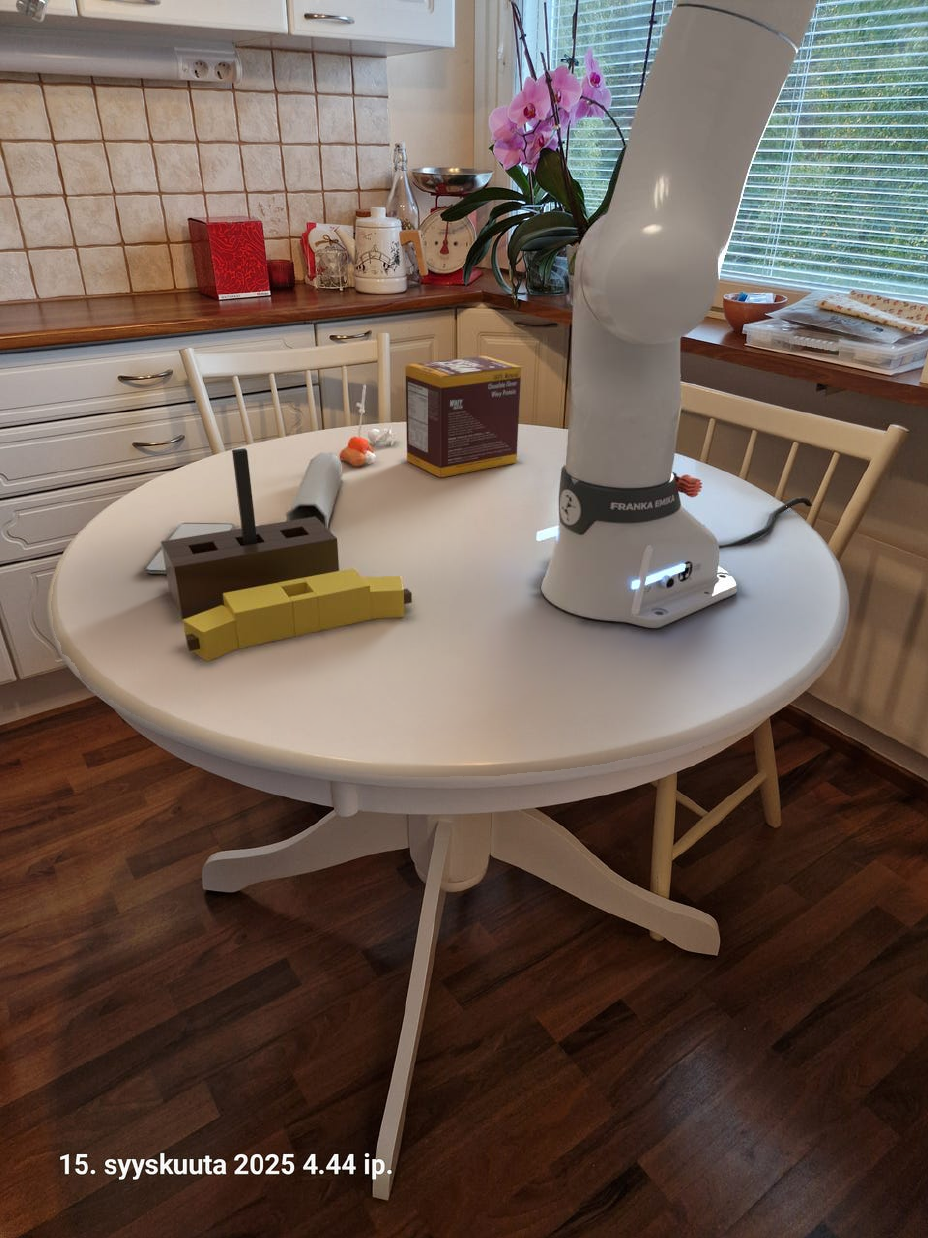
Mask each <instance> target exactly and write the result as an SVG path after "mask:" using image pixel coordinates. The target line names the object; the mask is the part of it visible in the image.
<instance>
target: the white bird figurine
mask: <svg viewBox="0 0 928 1238" xmlns="http://www.w3.org/2000/svg"><path fill="white" fill-rule="evenodd" d="M394 424H395V422H393V423H392V424H391V425H390V426H389V427H388V428H387V427H385V428H380V430H379V429H377V428H373V429H370V430H368V432H367V438H368V441H371V442H372V443H375V444H376V445H377V444H378V443H380V442H381V443H383V442H386V441H387V440H389V438H390V437H391V442H390V446H391V447H392V446H393V444H394V439H395V437H396V435H397V432H395V433H393V431H392V428H393V426H394Z"/></svg>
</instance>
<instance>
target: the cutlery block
mask: <svg viewBox="0 0 928 1238" xmlns="http://www.w3.org/2000/svg"><path fill="white" fill-rule="evenodd" d="M255 526H256V535H257V544H251V545H245V546H243V538H242V530H241V528H234V529H233V530H229V531H223V532H216V533H210V534H204V535H198V536H191V537H185V538H179V539H173V540H169V539H167V540H162V541H160V544H161V548H162V551H163V556H164V562H165V568H166V574H165V575H166V578H167V579H166V581H167V585H168V589H169V593H170V595H171V597H172V600H173V601H174V603H175V606H176V609H177V610H178V612H179V614H180V617H181V619H182V620H184V619H186V618H189V617H192V616H194V615H197V614H200V613H202V612H205V611H207V610H210V609H213V608H215V607H218V606H221V605H223V606H224V600H223V593H227V592H232V591H237V590H242V589H248V588H253V587H258V586H263V585H268V584H274V583H278V582H283V581H288V580H294V579H299V578H305V577H310V576H315V575H320V574H326V573H331V572H336V571H340V563H339V562H340V561H339V546H338V538H337V537H336V536H335V534H333V533H332V532H331V530H330V529H329V528H328V529H327V528H326V527H325V526H324V525H323V524H322V523H321V522H320V521H319V520H318V519H317V518H316V517H309V518H303V519H297V520H291V521H287V520H286V521H281V522H280V521H279V522H273V523H266V524H260V525H255Z"/></svg>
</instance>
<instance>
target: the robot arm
mask: <svg viewBox="0 0 928 1238" xmlns="http://www.w3.org/2000/svg"><path fill="white" fill-rule="evenodd" d="M50 1H51V0H16V3H15V6H16V10H17V11H18V12H19V13H20V14H22V15H23V16H25V17H27V18H29V19H31V20H34V21H36V22H38V23H41V22H42V23H43V21H44V20H45V17H46V13H47V12H46V11H47V9H48V4H49V3H50ZM817 4H818V0H674V2H673V4H672V8H671V10H670V13H669V16H668V18H667V22H666V24H665V27H664V30H663V33H662V35H661V37H660V41H659V44H658V47H657V49H656V52H655V55H654V57H653V61H652V63H651V66H650V69H649V72H648V75H647V77H646V81H645V83H644V86H643V89H642V92H641V94H640V97H639V100H638V103H637V106H636V108H635V111H634V114H633V118H632V123H631V127H630V132H629V134H628V135H629V136H628V140H627V144H626V147H625V151H624V153H623V158H622V161H621V167H620V169H619V172H618V176H617V180H616V182H615V187H614V190H613V193H612V196H611V200H610V203H609V205H608V206H609V207H608V209H607V212H606V213H605V214H603V215H602V216H600V217H599V218H598V219H597V220H595V222H594V223H592V225H590V227H589V228H588V230H587V231H586V232H585V234H584V235H583V237H582V239H581V241H580V243H579V246H578V249H577V251H576V254H575V261H574V272H573V273H574V274H573V276H574V277H573V295H572V296H573V297H572V322H571V323H572V324H571V368H570V369H571V371H570V372H571V373H570V378H571V379H570V403H569V413H568V414H569V416H568V428H567V439H566V440H567V442H566V454H565V464H564V465H563V466H562V467H561V470H560V471H561V472H560V477H559V478H560V479H559V488H558V489H559V490H558V525H555V526H553V527H549V528H545V529H543V530H539V531H537V532H536V541H538V542H540V541H543V540H547V539H549V538H552V537H555V540H554V546H553V550H552V553H551V557H550V560H549V564H548V567H547V569H546V572H545V574H544V578H543V579H542V582H541V586H540V587H541V592H542V594H543V596H544V597H545V598H546V599H547V601H548V602H550V603H551V604H552V605H553V606H556V607H557V608H559V609H561V610H562V611H565V612H568V613H570V614H573V615H576V616H580V617H583V618H588V619H592V620H598V621H608V622H621V623H627V624H631V625H636V626H640V627H643V628H648V629H659V628H662V627H664V626H667V625H670V624H671V623H673V622H675V621H678V620H680V619H682V618H684V617H686V616H689V615H692V614H694V613H695V612H698V611H700V610H702V609H704V608H707V607H709V606H711V605H713V604H715V603H718V602H720V601H723V600H724V599H726V598H729V597H731V596H733V595H736V594H737V591H738V584H737V582H736V580H735V578H734V577H733V576H732V575H731V574H730V573H729V572H728V571H726V570H725V569H724V568H722V567H721V566H720V549H723V548H729V547H738V546H742V545H745V544H749V543H751V542H753V541H755V540H756V539H759V538H761V537H763V536H765V535H766V534H767V533H769V532H770V531H771V530H772V528H773V526H774V523H775V520H776V519H777V517H778V516H779V515H781V514H782V513H784V512H786V511H787V510H788V509H790V508H792V507H793V506H795V505H798V504H804V505H805V507H812V506H813V503H812V501H811V500H810V499H809V498H807V497H803V496H800V497H795V498H793V499H790V500H789V501H787V502H786V503H784V504H783V505H781V506H780V507H778V508H777V509H775V510H773V511H772V512H771V513H770V515H769V516H768V519H767V522H766V525H764V527H763V528H761V529H760V530H758V531H755V532H753V533H752V534H749V535H747V536H745V537H743V538H740V539H738V540H735V541H733V542H729V543H725V544H719V542H718V539H717V537H716V535H715V534H714V532H712V531H711V530H710V529H709V528H708V527H707V526H706V524H703V523H702V522H701V521H700V520H698V519H697V518H696V517H695V516H694V515H693V514H691V513H690V512H689V511H688V510H687V509H686V508H685V507H684V506H683V505H682V501H681V497H680V494H684V495H686V496H688V497H690V498H696V497H697V496H698V495H699V493H700V492H701V491H702V488H703V482H701V479H699V478H696V477H692V476H691V475H689V474H683V475H682V476H678V474H677V473H676V472H675V471H673V468H674V460H675V454H676V446H677V439H678V433H679V427H680V426H679V425H680V419H681V410H682V404H683V392H682V383H681V381H682V379H681V338H683V337H685V336H687V335H688V334H690V333H691V332H692V331H694V330H695V329H696V328H697V327H698V326H699V325H700V324H701V323H702V322H703V321H704V319H706V318H707V315H708V314H709V313H710V311H711V310H712V307H713V305H714V304H715V300H716V298H717V295H718V291H719V286H720V274H721V268H722V266H723V262H724V259H725V255H726V253H727V250H728V246H729V243H730V240H731V236H732V233H733V231H734V227H735V224H736V220H737V216H738V213H739V209H740V205H741V201H742V198H743V194H744V190H745V187H746V183H747V180H748V176H749V172H750V170H751V167H752V164H753V161H754V158H755V156H756V152H757V150H758V149H759V145H760V142H761V140H762V137H763V136H764V133H765V131H766V128H767V126H768V124H769V121H770V119H771V116H772V114H773V111H774V109H775V107H776V105H777V102H778V100H779V98H780V96H781V93H782V91H783V88H784V86H785V83H786V81H787V79H788V76H789V74H790V72H791V69H792V67H793V65H794V63H795V60H796V57H797V55H798V52H799V51H800V48H801V45H802V43H803V40H804V38H805V36H806V33H807V30H808V28H809V25H810V22H811V19H812V17H813V14H814V12H815V9H816V6H817ZM786 506H787V507H786Z"/></svg>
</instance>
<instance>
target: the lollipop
mask: <svg viewBox="0 0 928 1238" xmlns="http://www.w3.org/2000/svg"><path fill="white" fill-rule="evenodd" d="M366 391H367V385H366V384H363V385H362V393H361V401H360V402H356V404H355V406H356V407H359V409H358V413H359V415H360V417H359V425H358V431H357V436H352V437H350V439H349V440H348V442H347V446H346V447H344V448H343V449H342V450H341V451H340V453H339V460H340V461H343V462H348V463H349V464H350V465H352V466H354V467H360V466H363V465H364V464H367V465H371V464H373V463H374V462H375V460H376V454H375V453H374V449H373V447H372V446H371V445H370V444H369V440H367V439H366V438H364V437H361V432H362V424H363V423H362V422H363V414H365V412H366V411H365V401H366V394H367V393H366Z"/></svg>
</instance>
